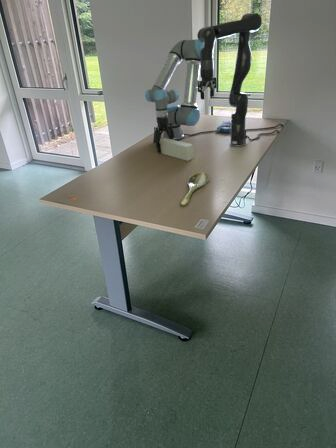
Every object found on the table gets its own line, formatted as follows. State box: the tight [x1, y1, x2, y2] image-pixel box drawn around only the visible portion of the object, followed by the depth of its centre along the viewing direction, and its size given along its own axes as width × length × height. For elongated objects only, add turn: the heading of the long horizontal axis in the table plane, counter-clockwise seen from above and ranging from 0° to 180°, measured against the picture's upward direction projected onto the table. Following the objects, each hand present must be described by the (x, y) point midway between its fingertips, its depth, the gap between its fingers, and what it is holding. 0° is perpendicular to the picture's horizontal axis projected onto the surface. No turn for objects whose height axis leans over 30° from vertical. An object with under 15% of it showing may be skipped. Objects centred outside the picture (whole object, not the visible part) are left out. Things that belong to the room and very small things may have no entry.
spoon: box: [180, 171, 210, 207], centre depth 170 cm, size 35×11×2 cm, turn 159°
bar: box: [159, 137, 195, 162], centre depth 214 cm, size 26×5×9 cm, turn 44°
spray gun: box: [216, 120, 231, 134], centre depth 254 cm, size 21×4×15 cm
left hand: (165, 150), depth 222 cm, fingers open, 10 cm apart
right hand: (207, 97), depth 198 cm, fingers open, 8 cm apart
